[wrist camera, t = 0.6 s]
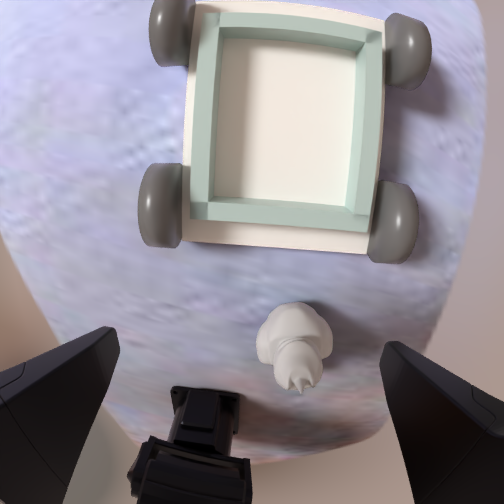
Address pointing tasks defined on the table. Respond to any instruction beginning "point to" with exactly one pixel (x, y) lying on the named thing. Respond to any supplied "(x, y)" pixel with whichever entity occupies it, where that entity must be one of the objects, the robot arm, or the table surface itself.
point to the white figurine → (295, 345)
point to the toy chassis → (283, 128)
